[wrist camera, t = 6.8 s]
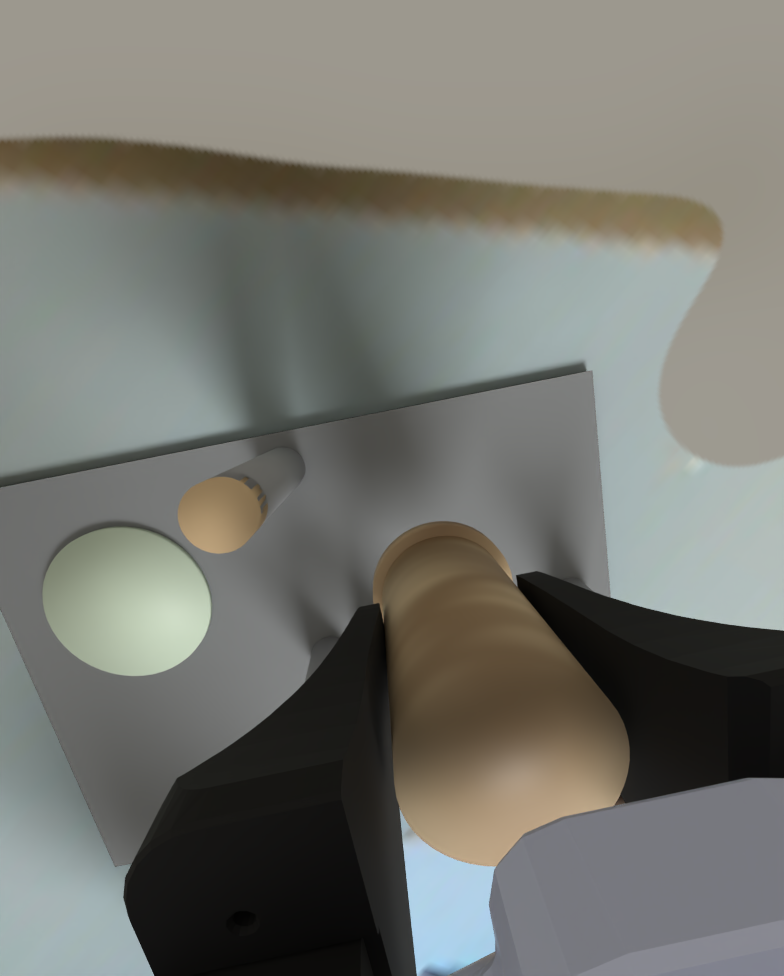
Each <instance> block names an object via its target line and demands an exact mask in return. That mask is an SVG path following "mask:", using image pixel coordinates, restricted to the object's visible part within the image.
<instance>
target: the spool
mask: <svg viewBox="0 0 784 976" xmlns="http://www.w3.org/2000/svg"><path fill="white" fill-rule="evenodd" d="M373 603H374V604H376V603H379V604H380V608H381V613H382V617H383V622H384V633H385V648H386V664H387V679H388V694H389V709H390V725H391V740H392V755H393V771H394V785H395V792H396V798H397V801H398V804H399V807H400V810H401V812H402V814H403V816H404V818H405V820H406V821H407V823H408V824H409V826H410V827H411V828H412V830H413V831H414V832H415V833H416V834H417V835H418V836H419V837H420V838H421V839H422V840H423V841H424V842H425V843H427V844H428V845H429V846H431V847H432V848H433V849H435V850H437V851H439V852H440V853H442V854H444V855H446V856H449V857H451V858H453V859H456V860H459V861H463V862H466V863H470V864H476V865H482V866H497V865H498V863H499V862H500V861H501V859H502V858H503V857H504V856H505V855H506V854H507V853H508V851H509V850H510V849H511V848H512V847H513V846H514V845H515V843H516V842H517V841H518V840H519V839H520V838H521V837H522V835H523V834H524V833H527V832H529V831H531V830H533V829H536V828H538V827H540V826H542V825H545V824H547V823H549V822H552V821H554V820H556V819H558V818H561V817H564V816H569V815H574V814H579V813H583V812H588V811H593V810H598V809H602V808H607V807H612V806H614V805H615V803H616V801H617V800H618V798H619V796H620V794H621V791H622V789H623V787H624V784H625V781H626V778H627V774H628V768H629V762H630V747H629V740H628V735H627V732H626V728H625V725H624V723H623V721H622V719H621V717H620V715H619V713H618V711H617V710H616V708H615V707H614V706H613V704H612V703H611V702H610V700H609V699H608V698H607V697H606V695H605V694H604V693H603V692H602V690H601V689H600V688H599V687H598V686H597V684H596V683H595V682H594V681H593V679H592V678H591V677H590V676H589V675H588V673H587V672H586V671H585V670H584V668H583V667H582V666H581V665H580V663H579V662H578V661H577V660H576V659H575V657H574V656H573V655H572V654H571V652H570V651H569V650H568V649H567V647H566V646H565V645H564V644H563V643H562V641H561V640H560V639H559V638H558V636H557V635H556V634H555V633H554V631H553V630H552V629H551V628H550V627H549V625H548V624H547V623H546V622H545V620H544V619H543V618H542V617H541V616H540V614H539V613H538V612H537V611H536V609H535V608H534V607H533V606H532V604H531V603H530V602H529V601H528V600H527V598H526V597H525V596H524V595H523V593H522V592H521V591H520V590H519V588H518V587H517V586H516V585H515V584H514V582H513V579H512V574H511V571H510V568H509V565H508V563H507V561H506V559H505V557H504V556H503V554H502V553H501V552H500V550H499V549H498V548H497V547H496V546H495V545H494V543H493V542H492V541H491V540H490V539H489V538H488V537H486V536H485V535H484V534H483V533H481V532H480V531H478V530H476V529H474V528H473V527H470V526H468V525H465V524H461V523H457V522H450V521H436V522H429V523H425V524H421V525H419V526H416V527H414V528H411V529H410V530H408V531H406V532H404V533H403V534H401V535H400V536H399V537H397V538H396V539H395V540H394V541H393V542H392V543H391V544H390V545H389V546H388V547H387V549H386V550H385V551H384V553H383V554H382V556H381V558H380V559H379V562H378V564H377V566H376V570H375V573H374V579H373Z"/></svg>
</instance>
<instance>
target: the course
mask: <svg viewBox="0 0 784 976" xmlns="http://www.w3.org/2000/svg"><path fill="white" fill-rule="evenodd" d="M436 521H450V522H457V523H461V524H465V525H468V526H470V527H473V528H474V529H476V530H478V531H480V532H481V533H483V534H484V535H485V536H486V537H488V538H489V539H490V540H491V541H492V542H493V543H494V545H495V546H496V547H497V548H498V549H499V550H500V552H501V553H502V554H503V556H504V557H505V559H506V561H507V563H508V565H509V568H510V571H511V574H512V579H513V582H514V584H515V585H516V586H517V579H516V575H519V574H524V573H529V572H534V571H538V572H542V573H545V574H548V575H551V576H553V577H556V578H559V579H561V580H564V581H567V582H569V583H572V584H574V585H577V586H580V587H582V588H585V589H588V590H590V591H593V592H596V593H599V594H601V595H604V596H607V597H610V598H611V596H610V583H609V571H608V559H607V546H606V534H605V522H604V509H603V497H602V485H601V472H600V460H599V447H598V435H597V423H596V410H595V398H594V386H593V373H592V371H586V372H581V373H576V374H571V375H565V376H560V377H555V378H550V379H545V380H540V381H535V382H530V383H525V384H520V385H515V386H510V387H505V388H500V389H495V390H490V391H485V392H480V393H475V394H469V395H464V396H459V397H454V398H449V399H444V400H439V401H434V402H429V403H424V404H419V405H414V406H409V407H404V408H399V409H394V410H389V411H384V412H378V413H373V414H368V415H363V416H358V417H353V418H348V419H343V420H338V421H333V422H328V423H323V424H318V425H313V426H308V427H303V428H298V429H293V430H288V431H282V432H277V433H272V434H267V435H262V436H257V437H252V438H247V439H242V440H237V441H232V442H227V443H222V444H217V445H212V446H207V447H202V448H197V449H191V450H186V451H181V452H176V453H171V454H166V455H161V456H156V457H151V458H146V459H141V460H136V461H131V462H126V463H121V464H116V465H111V466H106V467H101V468H95V469H90V470H85V471H80V472H75V473H70V474H65V475H60V476H55V477H50V478H45V479H40V480H35V481H30V482H25V483H20V484H15V485H10V486H4V487H0V609H1V612H2V614H3V616H4V618H5V621H6V623H7V625H8V627H9V630H10V632H11V634H12V636H13V639H14V641H15V643H16V645H17V648H18V650H19V652H20V654H21V657H22V659H23V661H24V663H25V666H26V668H27V670H28V672H29V674H30V677H31V679H32V681H33V683H34V686H35V688H36V690H37V692H38V695H39V697H40V699H41V701H42V704H43V706H44V708H45V710H46V713H47V715H48V717H49V719H50V722H51V724H52V726H53V728H54V731H55V733H56V735H57V737H58V740H59V742H60V744H61V746H62V749H63V751H64V753H65V755H66V758H67V760H68V762H69V764H70V767H71V769H72V771H73V773H74V776H75V778H76V780H77V782H78V784H79V787H80V789H81V791H82V793H83V796H84V798H85V800H86V802H87V805H88V807H89V809H90V811H91V814H92V816H93V818H94V820H95V823H96V825H97V827H98V829H99V832H100V834H101V836H102V838H103V841H104V843H105V845H106V847H107V850H108V852H109V854H110V856H111V859H112V861H113V863H114V865H115V867H116V866H121V865H126V864H131V863H132V862H133V860H134V858H135V856H136V854H137V852H138V850H139V848H140V846H141V844H142V843H143V841H144V839H145V837H146V835H147V833H148V831H149V829H150V827H151V825H152V823H153V821H154V819H155V817H156V815H157V813H158V811H159V809H160V807H161V805H162V803H163V802H164V800H165V798H166V796H167V795H168V793H169V791H170V789H171V787H172V786H173V784H174V782H175V780H176V779H177V778H178V777H180V776H181V775H183V774H185V773H187V772H188V771H190V770H192V769H193V768H195V767H196V766H198V765H200V764H201V763H203V762H204V761H206V760H208V759H209V758H211V757H212V756H214V755H216V754H217V753H219V752H220V751H222V750H223V749H225V748H226V747H228V746H229V745H231V744H232V743H234V742H235V741H237V740H238V739H239V738H241V737H242V736H243V735H245V734H246V733H248V732H249V731H250V730H252V729H253V728H254V727H255V726H257V725H258V724H259V723H261V722H262V721H263V720H264V719H266V718H267V717H268V716H269V715H270V714H271V713H273V712H274V711H275V710H276V709H277V708H278V707H279V706H280V705H282V704H283V703H284V702H285V701H286V700H287V699H288V698H289V697H291V696H292V695H293V694H294V693H295V692H296V691H297V690H298V689H299V688H300V687H301V686H302V685H303V684H304V683H305V681H306V680H307V679H308V678H309V677H310V676H311V675H312V674H313V673H314V672H315V670H316V669H317V668H318V667H319V666H320V664H321V663H322V662H323V660H324V659H325V658H326V656H327V655H328V654H329V652H330V651H331V650H332V648H333V647H334V645H335V644H336V642H337V641H338V639H339V638H340V636H341V635H342V633H343V632H344V630H345V628H346V627H347V625H348V624H349V622H350V620H351V618H352V617H353V615H354V613H355V612H356V610H357V609H358V608H359V607H361V606H366V605H371V604H374V603H373V579H374V573H375V570H376V566H377V564H378V562H379V559H380V558H381V556H382V554H383V553H384V551H385V550H386V549H387V547H388V546H389V545H390V544H391V543H392V542H393V541H394V540H395V539H396V538H397V537H399V536H400V535H401V534H403V533H404V532H406V531H408V530H410V529H411V528H414V527H416V526H419V525H421V524H425V523H429V522H436ZM121 526H127V527H136V528H141V529H146V530H149V531H152V532H155V533H158V534H160V535H162V536H164V537H166V538H168V539H170V540H172V541H173V542H175V543H176V544H178V545H179V546H181V547H182V548H183V549H184V550H185V551H187V552H188V553H189V554H190V556H191V557H192V558H193V559H194V560H195V561H196V562H197V564H198V565H199V566H200V568H201V570H202V571H203V573H204V575H205V577H206V579H207V582H208V584H209V587H210V591H211V595H212V617H211V621H210V625H209V628H208V630H207V633H206V635H205V636H204V638H203V640H202V641H201V643H200V644H199V645H198V647H197V648H196V649H195V651H194V652H193V653H192V654H191V655H190V656H189V657H188V658H186V659H185V660H184V661H182V662H181V663H180V664H178V665H176V666H174V667H173V668H170V669H168V670H166V671H163V672H160V673H156V674H151V675H145V676H125V675H118V674H113V673H109V672H106V671H102V670H100V669H97V668H95V667H93V666H90V665H89V664H87V663H85V662H83V661H82V660H80V659H79V658H77V657H76V656H75V655H73V654H72V653H71V652H70V651H69V650H68V649H67V648H66V647H65V646H64V645H63V644H62V643H61V642H60V641H59V640H58V638H57V637H56V635H55V634H54V632H53V631H52V629H51V627H50V625H49V623H48V621H47V618H46V615H45V612H44V606H43V597H42V591H43V582H44V579H45V575H46V572H47V570H48V568H49V566H50V564H51V562H52V561H53V559H54V558H55V556H56V555H57V554H58V553H59V552H60V551H61V550H62V549H63V548H64V547H65V546H66V545H68V544H69V543H70V542H72V541H74V540H75V539H77V538H79V537H81V536H83V535H85V534H88V533H90V532H92V531H95V530H99V529H103V528H108V527H121Z"/></svg>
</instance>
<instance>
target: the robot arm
mask: <svg viewBox="0 0 784 976" xmlns="http://www.w3.org/2000/svg"><path fill="white" fill-rule="evenodd" d="M516 579H517V587H518V588H519V590H520V591H521V592H522V593H523V595H524V596H525V597H526V598H527V600H528V601H529V602H530V603H531V604H532V606H533V607H534V608H535V609H536V611H537V612H538V613H539V614H540V616H541V617H542V618H543V619H544V620H545V622H546V623H547V624H548V625H549V627H550V628H551V629H552V630H553V631H554V633H555V634H556V635H557V636H558V638H559V639H560V640H561V641H562V643H563V644H564V645H565V646H566V647H567V649H568V650H569V651H570V652H571V654H572V655H573V656H574V657H575V659H576V660H577V661H578V662H579V663H580V665H581V666H582V667H583V668H584V670H585V671H586V672H587V673H588V675H589V676H590V677H591V678H592V679H593V681H594V682H595V683H596V684H597V686H598V687H599V688H600V689H601V690H602V692H603V693H604V694H605V695H606V697H607V698H608V699H609V700H610V702H611V703H612V704H613V706H614V707H615V708H616V710H617V711H618V713H619V715H620V717H621V719H622V721H623V723H624V725H625V728H626V732H627V735H628V740H629V747H630V762H629V768H628V774H627V778H626V781H625V784H624V787H623V789H622V791H621V796H622V798H623V800H624V801H625V803H626V804H621V805H616V806H612V807H607V808H602V809H598V810H593V811H588V812H583V813H579V814H574V815H569V816H564V817H561V818H558V819H556V820H554V821H552V822H549V823H547V824H545V825H542V826H540V827H538V828H536V829H533V830H531V831H529V832H527V833H524V834H523V835H522V837H521V838H520V839H519V840H518V841H517V842H516V843H515V845H514V846H513V847H512V848H511V849H510V850H509V851H508V853H507V854H506V855H505V856H504V857H503V858H502V859H501V861H500V862H499V863H498V865H497V866H496V868H495V870H494V876H493V882H492V888H491V895H490V901H489V908H490V914H491V919H492V924H493V930H494V935H495V952H493V953H491V954H489V955H487V956H485V957H483V958H481V959H480V960H478V961H476V962H474V963H472V964H470V965H468V966H466V967H464V968H462V969H460V970H458V971H456V972H454V973H452V974H450V975H448V976H784V631H781V630H771V629H760V628H750V627H743V626H735V625H727V624H721V623H715V622H709V621H703V620H697V619H691V618H686V617H681V616H676V615H672V614H668V613H663V612H659V611H655V610H651V609H647V608H643V607H639V606H636V605H632V604H629V603H626V602H623V601H620V600H616V599H613V598H610V597H607V596H604V595H601V594H599V593H596V592H593V591H590V590H588V589H585V588H582V587H580V586H577V585H574V584H572V583H569V582H567V581H564V580H561V579H559V578H556V577H553V576H551V575H548V574H545V573H542V572H538V571H534V572H529V573H524V574H519V575H516ZM123 898H124V901H125V905H126V909H127V913H128V917H129V919H130V922H131V924H132V927H133V929H134V931H135V933H136V936H137V938H138V940H139V942H140V944H141V947H142V949H143V951H144V953H145V956H146V958H147V960H148V962H149V965H150V967H151V969H152V971H153V974H154V976H417V974H416V965H415V956H414V947H413V937H412V928H411V919H410V909H409V900H408V891H407V881H406V871H405V861H404V851H403V842H402V831H401V821H400V810H399V804H398V801H397V798H396V792H395V785H394V771H393V755H392V740H391V725H390V709H389V694H388V679H387V664H386V648H385V633H384V622H383V617H382V613H381V608H380V604H379V603H376V604H371V605H366V606H361V607H359V608H358V609H357V610H356V612H355V613H354V615H353V617H352V618H351V620H350V622H349V624H348V625H347V627H346V628H345V630H344V632H343V633H342V635H341V636H340V638H339V639H338V641H337V642H336V644H335V645H334V647H333V648H332V650H331V651H330V652H329V654H328V655H327V656H326V658H325V659H324V660H323V662H322V663H321V664H320V666H319V667H318V668H317V669H316V670H315V672H314V673H313V674H312V675H311V676H310V677H309V678H308V679H307V680H306V681H305V683H304V684H303V685H302V686H301V687H300V688H299V689H298V690H297V691H296V692H295V693H294V694H293V695H292V696H291V697H289V698H288V699H287V700H286V701H285V702H284V703H283V704H282V705H280V706H279V707H278V708H277V709H276V710H275V711H274V712H273V713H271V714H270V715H269V716H268V717H267V718H266V719H264V720H263V721H262V722H261V723H259V724H258V725H257V726H255V727H254V728H253V729H252V730H250V731H249V732H248V733H246V734H245V735H243V736H242V737H241V738H239V739H238V740H237V741H235V742H234V743H232V744H231V745H229V746H228V747H226V748H225V749H223V750H222V751H220V752H219V753H217V754H216V755H214V756H212V757H211V758H209V759H208V760H206V761H204V762H203V763H201V764H200V765H198V766H196V767H195V768H193V769H192V770H190V771H188V772H187V773H185V774H183V775H181V776H180V777H178V778H177V779H176V780H175V782H174V784H173V786H172V787H171V789H170V791H169V793H168V795H167V796H166V798H165V800H164V802H163V803H162V805H161V807H160V809H159V811H158V813H157V815H156V817H155V819H154V821H153V823H152V825H151V827H150V829H149V831H148V833H147V835H146V837H145V839H144V841H143V843H142V844H141V846H140V848H139V850H138V852H137V854H136V856H135V858H134V860H133V862H132V865H131V867H130V869H129V871H128V873H127V875H126V877H125V886H124V897H123Z"/></svg>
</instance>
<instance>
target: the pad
mask: <svg viewBox="0 0 784 976" xmlns="http://www.w3.org/2000/svg"><path fill="white" fill-rule="evenodd" d="M42 597H43V606H44V612H45V615H46V618H47V621H48V623H49V625H50V627H51V629H52V631H53V632H54V634H55V635H56V637H57V638H58V640H59V641H60V642H61V643H62V644H63V645H64V646H65V647H66V648H67V649H68V650H69V651H70V652H71V653H72V654H73V655H75V656H76V657H77V658H79V659H80V660H82V661H83V662H85V663H87V664H89V665H90V666H93V667H95V668H97V669H100V670H102V671H106V672H109V673H113V674H118V675H125V676H145V675H151V674H156V673H160V672H163V671H166V670H168V669H170V668H173V667H174V666H176V665H178V664H180V663H181V662H182V661H184V660H185V659H186V658H188V657H189V656H190V655H191V654H192V653H193V652H194V651H195V649H196V648H197V647H198V645H199V644H200V643H201V641H202V640H203V638H204V636H205V635H206V633H207V630H208V628H209V625H210V621H211V617H212V595H211V591H210V587H209V584H208V582H207V579H206V577H205V575H204V573H203V571H202V570H201V568H200V566H199V565H198V564H197V562H196V561H195V560H194V559H193V558H192V557H191V556H190V554H189V553H188V552H187V551H185V550H184V549H183V548H182V547H181V546H179V545H178V544H176V543H175V542H173V541H172V540H170V539H168V538H166V537H164V536H162V535H160V534H158V533H155V532H152V531H149V530H146V529H141V528H136V527H127V526H121V527H108V528H103V529H99V530H95V531H92V532H90V533H88V534H85V535H83V536H81V537H79V538H77V539H75V540H74V541H72V542H70V543H69V544H68V545H66V546H65V547H64V548H63V549H62V550H61V551H60V552H59V553H58V554H57V555H56V556H55V558H54V559H53V561H52V562H51V564H50V566H49V568H48V570H47V572H46V575H45V579H44V582H43V591H42Z"/></svg>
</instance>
